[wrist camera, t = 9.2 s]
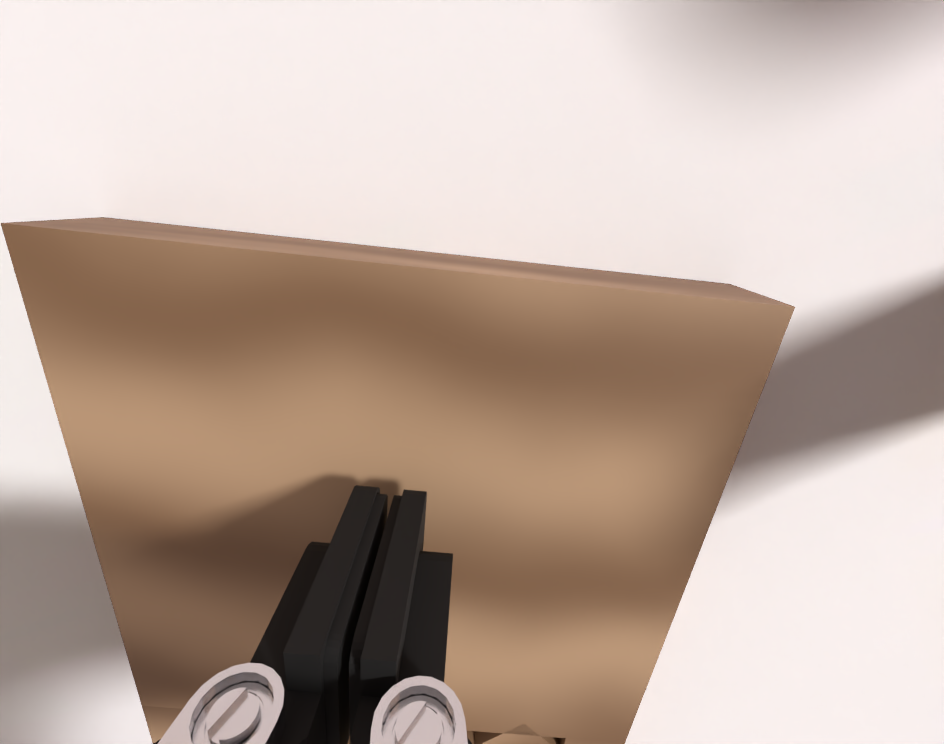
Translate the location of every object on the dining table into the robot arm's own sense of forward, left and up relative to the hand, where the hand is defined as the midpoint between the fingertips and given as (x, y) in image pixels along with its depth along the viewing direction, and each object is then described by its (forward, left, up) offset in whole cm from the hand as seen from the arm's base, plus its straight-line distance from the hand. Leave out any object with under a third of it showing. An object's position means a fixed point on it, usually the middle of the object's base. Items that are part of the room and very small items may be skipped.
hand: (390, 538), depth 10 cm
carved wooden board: (0, +9, -3) cm, 9 cm away
